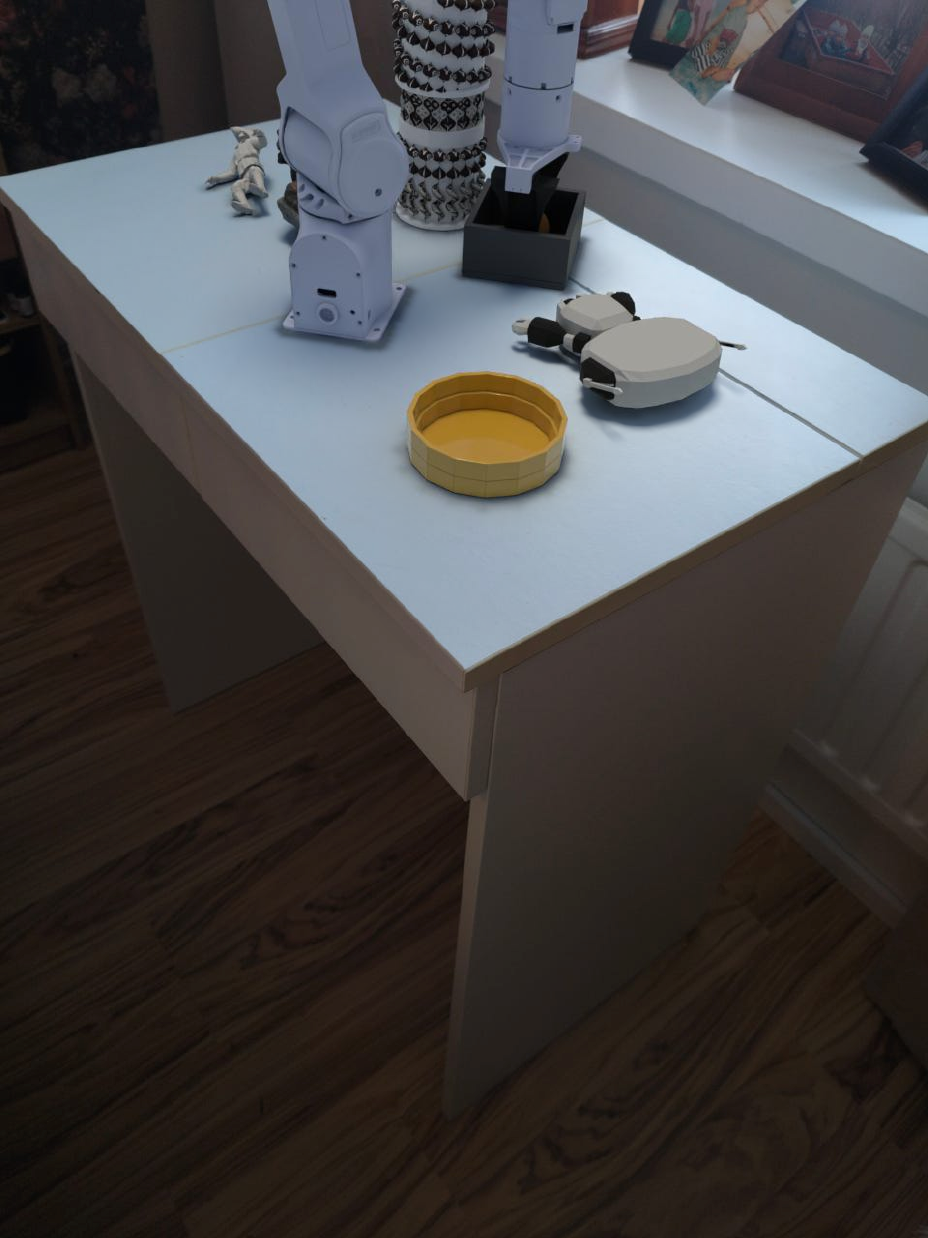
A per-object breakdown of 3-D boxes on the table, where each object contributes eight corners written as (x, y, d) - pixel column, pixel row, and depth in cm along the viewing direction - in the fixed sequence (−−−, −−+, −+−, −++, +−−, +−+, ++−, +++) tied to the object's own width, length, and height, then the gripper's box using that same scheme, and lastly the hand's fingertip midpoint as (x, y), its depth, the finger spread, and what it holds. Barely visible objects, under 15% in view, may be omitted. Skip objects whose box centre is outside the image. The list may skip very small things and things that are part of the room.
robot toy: (499, 358, 81) (619, 443, 72) (501, 304, 78) (626, 386, 69) (617, 320, 86) (743, 395, 77) (623, 269, 83) (755, 340, 74)
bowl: (548, 513, 67) (553, 474, 64) (390, 486, 68) (389, 447, 66) (571, 422, 74) (576, 384, 72) (428, 399, 75) (428, 361, 73)
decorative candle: (497, 199, 100) (518, -106, 82) (471, 239, 94) (488, -82, 76) (410, 184, 102) (411, -118, 84) (379, 222, 96) (373, -95, 78)
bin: (564, 290, 88) (570, 239, 85) (461, 275, 89) (463, 224, 86) (580, 239, 95) (586, 190, 92) (484, 226, 96) (487, 177, 93)
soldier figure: (210, 226, 96) (188, 139, 101) (249, 249, 100) (226, 165, 104) (264, 172, 92) (239, 84, 97) (302, 198, 96) (277, 113, 101)
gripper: (575, 115, 76) (556, 284, 85) (598, 54, 86) (579, 212, 95) (483, 103, 77) (475, 272, 86) (517, 45, 86) (506, 202, 96)
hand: (524, 240), depth 91 cm, fingers closed on teddy, 4 cm apart
